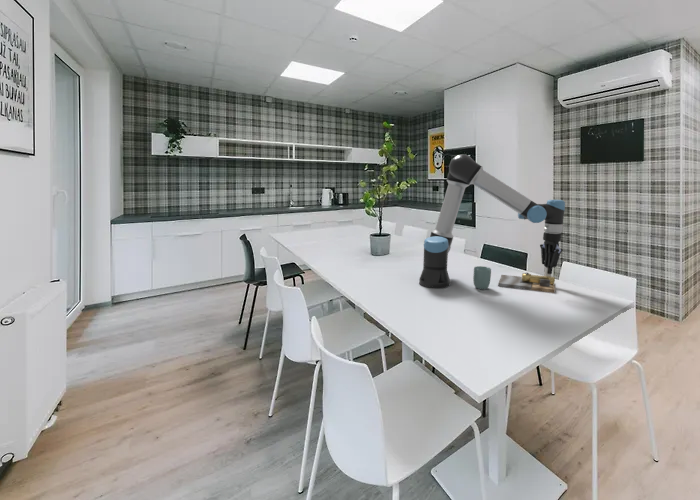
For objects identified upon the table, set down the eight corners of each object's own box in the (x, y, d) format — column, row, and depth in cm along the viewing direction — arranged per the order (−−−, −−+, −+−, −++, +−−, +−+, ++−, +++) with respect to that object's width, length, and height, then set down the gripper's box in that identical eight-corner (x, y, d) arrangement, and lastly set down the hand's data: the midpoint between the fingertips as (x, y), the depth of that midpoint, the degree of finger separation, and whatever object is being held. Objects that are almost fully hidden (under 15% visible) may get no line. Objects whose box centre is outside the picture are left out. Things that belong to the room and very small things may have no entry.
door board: (498, 286, 171) (498, 277, 171) (501, 277, 187) (502, 269, 186) (554, 292, 160) (555, 283, 160) (552, 283, 176) (553, 274, 175)
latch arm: (521, 281, 171) (522, 273, 171) (521, 279, 175) (522, 271, 174) (554, 284, 166) (555, 276, 165) (553, 282, 170) (554, 274, 169)
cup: (491, 291, 164) (492, 270, 162) (473, 290, 166) (475, 269, 164) (488, 286, 172) (489, 266, 170) (471, 285, 173) (472, 265, 171)
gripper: (536, 230, 172) (531, 276, 177) (554, 234, 160) (548, 284, 165) (550, 230, 173) (545, 275, 178) (569, 234, 160) (563, 283, 165)
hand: (547, 279), depth 171 cm, fingers closed
